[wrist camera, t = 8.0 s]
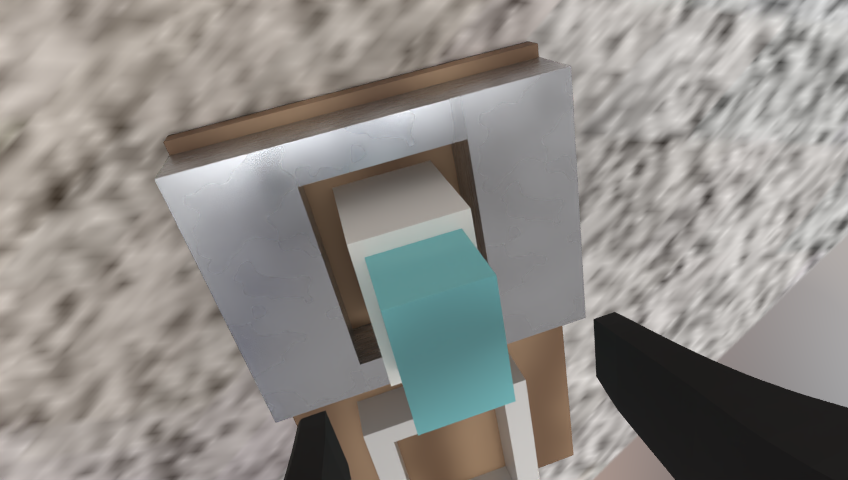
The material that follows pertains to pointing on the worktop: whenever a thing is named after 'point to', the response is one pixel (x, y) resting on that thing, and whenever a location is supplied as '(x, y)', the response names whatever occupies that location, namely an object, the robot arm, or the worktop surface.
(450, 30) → the worktop surface
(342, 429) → the panel board
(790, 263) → the worktop surface
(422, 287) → the plug
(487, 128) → the port
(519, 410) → the grey rectangular frame
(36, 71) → the worktop surface
